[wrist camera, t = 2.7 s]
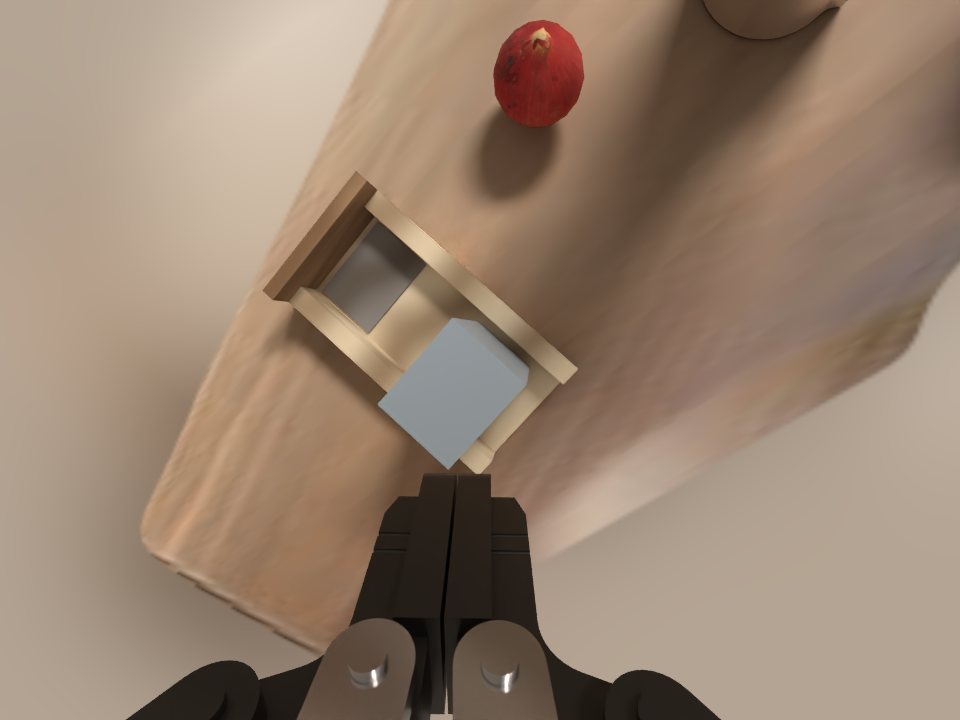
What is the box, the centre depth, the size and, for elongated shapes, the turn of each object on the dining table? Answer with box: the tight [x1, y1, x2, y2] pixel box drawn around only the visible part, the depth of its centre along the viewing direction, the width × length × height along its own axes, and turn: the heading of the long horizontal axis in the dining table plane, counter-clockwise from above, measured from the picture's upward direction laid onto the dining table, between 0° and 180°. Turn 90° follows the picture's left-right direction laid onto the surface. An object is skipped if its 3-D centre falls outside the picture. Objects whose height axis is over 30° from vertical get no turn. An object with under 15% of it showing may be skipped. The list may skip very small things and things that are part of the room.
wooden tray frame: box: [263, 172, 578, 474], centre depth 33 cm, size 20×10×5 cm, turn 48°
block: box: [377, 318, 530, 470], centre depth 28 cm, size 5×6×11 cm
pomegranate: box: [493, 20, 584, 128], centre depth 29 cm, size 6×6×8 cm
